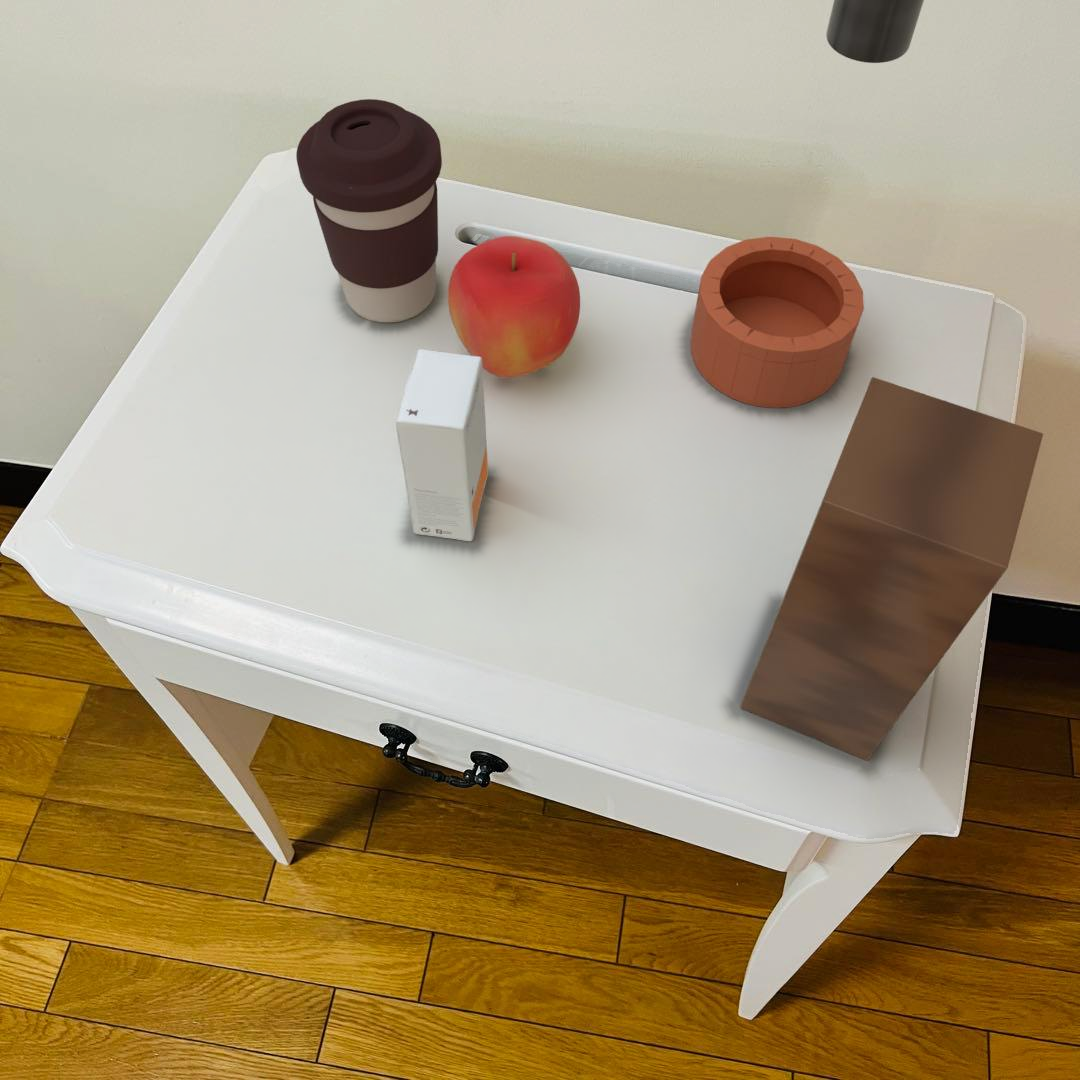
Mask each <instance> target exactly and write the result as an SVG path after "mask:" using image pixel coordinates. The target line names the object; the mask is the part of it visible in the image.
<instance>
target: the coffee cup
mask: <svg viewBox="0 0 1080 1080" xmlns="http://www.w3.org/2000/svg"><path fill="white" fill-rule="evenodd" d="M295 155H296V156H295V157H296V163H297V169H298V172H299V178H300V181H301V182H302V185H303V187H304V188H305V189H306V190H307V193H309V194H310V195H311V196H312V201H313V206H314V208H315V212H316V216H317V219H318V222H319V226H320V228H321V229H320V230H321V232H322V236H323V238H324V242H325V244H326V248H327V252H328V255H329V258H330V262H331V264H332V266H333V267H334V269H335V271H336V272H337V275H338V278H339V281H340V285H341V288H342V291H343V295H344V298H345V301H346V303H347V304H348V306H349V307H350V308H351V309H352V310H353V311H354V312H355V313H356V314H357V315H359V316H360V317H362V318H364V319H367V320H369V321H373V322H376V323H397V322H398V323H399V322H403V321H406V320H409V319H412V318H414V317H416V316H418V315H420V314H421V313H423V312H424V311H425V310H426V309H427V308H428V307H429V305H430V304H432V302H433V300H434V298H435V294H436V290H437V261H436V260H437V257H438V252H439V211H438V210H439V209H438V184H437V180H438V179H439V176H440V175H441V171H442V166H443V157H442V147H441V140H440V137H439V136H438V133H437V131H436V130H435V129H434V128H433V126H432V125H431V124H430V123H429V122H428V121H426V120H425V119H424V118H423V117H421V116H420V115H418V114H415V113H414V112H412V111H409V110H406V109H405V108H403V107H402V106H400V105H398V104H396V103H394V102H391V101H387V100H382V99H375V98H366V99H357V100H352V101H348V102H345V103H342V104H339V105H336V106H335V107H333V108H332V109H330V110H329V111H327V112H326V113H325V114H324V115H323V116H322V117H321V118H320V119H319V120H318V121H316V122H315V123H313V125H311V126H310V127H309V128H308V129H307V130H306V131H305V132H304V134H303V135H302V137H301V138H300V140H299V142H298V145H297V147H296V154H295Z"/></svg>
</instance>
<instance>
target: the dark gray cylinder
mask: <svg viewBox="0 0 1080 1080" xmlns="http://www.w3.org/2000/svg"><path fill="white" fill-rule="evenodd" d="M924 1H925V0H833V4H832V8H831V12H830V16H829V20H828V25H827V28H826V34H825V35H826V41H827V44H829V46H830V47H831V48H832V49H833V51H835V52H836V53H838V54H839V55H840V56H843V57H844V58H846V59H850V60H853V61H856V62H861V63H868V64H881V63H882V64H883V63H888V62H893V61H895V60H898V59H899V58H901V57H903V56H904V55H905V54H906V53H908V50H909V49H910V46H911V43H912V39H913V37H914V33H915V30H916V27H917V23H918V21H919V17H920V15H921V11H922V7H923V5H924Z"/></svg>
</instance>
